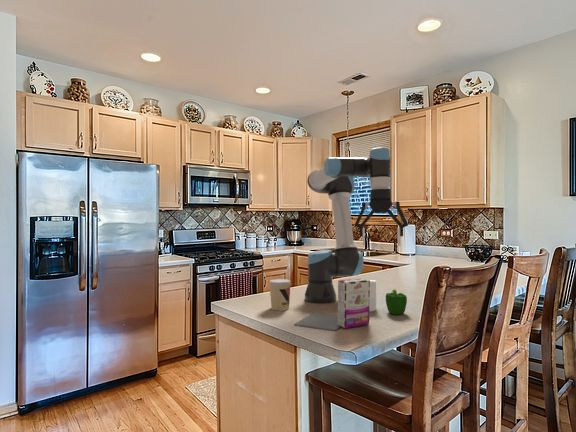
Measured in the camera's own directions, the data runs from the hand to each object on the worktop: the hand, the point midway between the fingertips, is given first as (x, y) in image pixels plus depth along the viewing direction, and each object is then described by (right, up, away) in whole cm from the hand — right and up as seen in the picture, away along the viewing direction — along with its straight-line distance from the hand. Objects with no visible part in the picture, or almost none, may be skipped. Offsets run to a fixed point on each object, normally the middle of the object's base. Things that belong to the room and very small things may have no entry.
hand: (381, 245), depth 135 cm
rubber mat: (-22, -29, -1) cm, 36 cm away
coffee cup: (-39, -29, +20) cm, 53 cm away
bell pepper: (+8, -29, +9) cm, 31 cm away
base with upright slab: (-2, -29, +17) cm, 33 cm away
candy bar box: (-12, -29, -6) cm, 32 cm away
